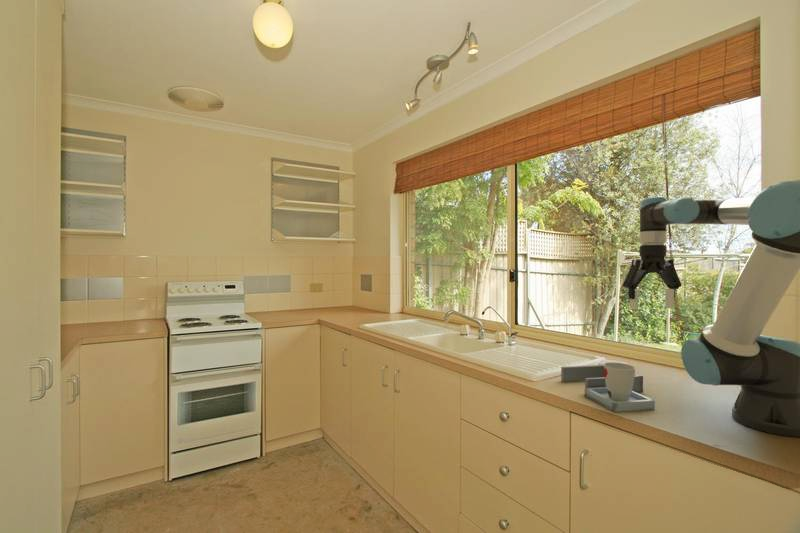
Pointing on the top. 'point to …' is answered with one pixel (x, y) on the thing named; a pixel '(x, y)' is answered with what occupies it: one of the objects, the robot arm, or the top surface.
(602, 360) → the charger
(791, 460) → the top surface
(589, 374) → the holder
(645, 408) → the tray
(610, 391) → the cup
